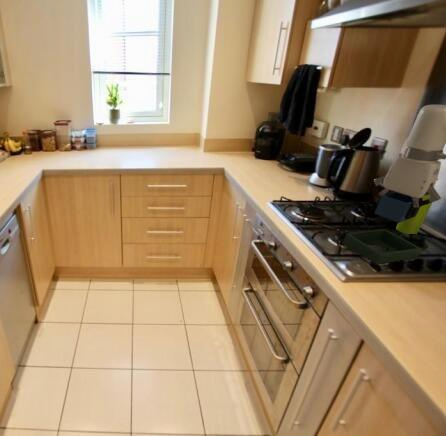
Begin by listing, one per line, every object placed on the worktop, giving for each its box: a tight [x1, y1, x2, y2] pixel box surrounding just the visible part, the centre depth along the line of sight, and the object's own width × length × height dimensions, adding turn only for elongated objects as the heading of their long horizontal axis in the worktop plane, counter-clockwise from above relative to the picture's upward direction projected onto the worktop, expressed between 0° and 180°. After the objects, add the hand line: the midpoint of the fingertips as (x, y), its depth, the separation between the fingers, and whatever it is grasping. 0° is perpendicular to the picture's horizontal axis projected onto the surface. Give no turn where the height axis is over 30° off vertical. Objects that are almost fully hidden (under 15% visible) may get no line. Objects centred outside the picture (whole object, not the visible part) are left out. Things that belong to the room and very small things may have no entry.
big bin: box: [342, 228, 423, 264], centre depth 99 cm, size 14×12×4 cm
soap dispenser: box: [395, 177, 439, 235], centre depth 107 cm, size 6×7×20 cm
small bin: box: [374, 191, 413, 224], centre depth 92 cm, size 7×7×6 cm
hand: (394, 212), depth 93 cm, fingers closed on small bin, 6 cm apart
